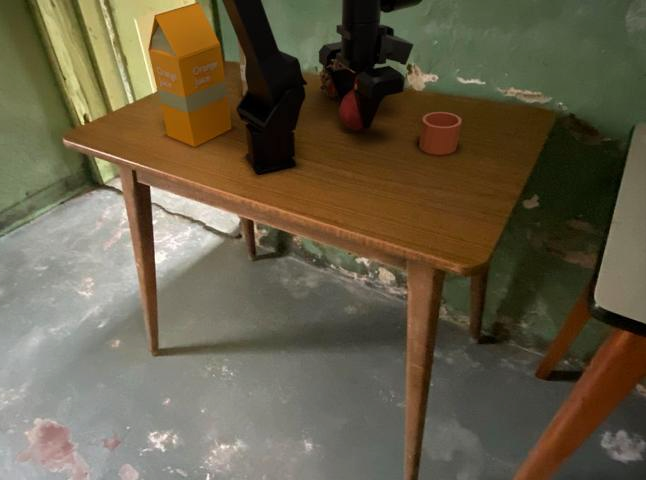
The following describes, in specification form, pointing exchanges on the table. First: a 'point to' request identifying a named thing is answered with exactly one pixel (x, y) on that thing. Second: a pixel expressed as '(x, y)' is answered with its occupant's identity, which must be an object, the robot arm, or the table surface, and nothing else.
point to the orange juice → (189, 75)
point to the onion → (350, 111)
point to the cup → (439, 133)
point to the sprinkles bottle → (242, 68)
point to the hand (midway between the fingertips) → (356, 119)
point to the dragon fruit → (329, 84)
